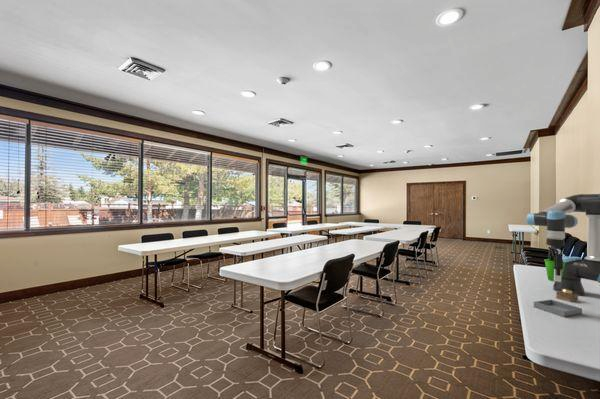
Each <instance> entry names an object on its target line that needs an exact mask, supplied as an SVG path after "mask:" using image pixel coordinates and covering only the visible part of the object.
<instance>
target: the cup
mask: <svg viewBox="0 0 600 399" xmlns="http://www.w3.org/2000/svg"><path fill="white" fill-rule="evenodd" d="M543 261H544V265H545V269H546V276H547V280H548V281H549V282H554V283H555V282H559V281H554V269H553V268H554V267H555V262H554V261H551V260H549V259H548V258H547V259H544V260H543ZM565 263H566V262H564V261H563V269H562V270H561V278H562V274H563V270H564V266H565Z"/></svg>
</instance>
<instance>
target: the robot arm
mask: <svg viewBox="0 0 600 399" xmlns="http://www.w3.org/2000/svg"><path fill="white" fill-rule="evenodd" d="M571 213H585V216H586V217H587V218H588V235H587V236H588V238H587V239H588V240H587V241H588V242H587V243H588V244H587V256H585V257H584V258H583V259H584V260H583V259H582V257H579V256H563V250H561V248H560V247H565V246H566V244H565V239H566V229H570V228H574V227H576V226H577V225H578V222H579V220H578V218H577V217H576V216H575V215H573V214H571ZM525 221H526V223H527V224H528V225H530V226H534V227H537V226H538V227H546V231H545V234H546V240H545V242H546V246H548V253H547V259H549V260H551V261H554V262H555V267H554V268H553V269H554V281H559V282H554V284H553V288H552V289H553V291H556V292H557V291H562V289H569V290H572V293H575V294H578V296H585V295H586V294H585V292H586V291H585V288H584V285H583V284H582V280H587V281H594V282H598V283H600V193H592V194H591V193H590V194H589V193H582V194H574V195H570V196H567V197H564V198H562V199H559V201H558V202H556V203H555V204H554V205H551V206H550V207H547V208H546V209H543V210H541V211H539V212H531V213H527V215H526V220H525ZM563 261H564V262H566V263H565V266H564V270H563V274H562V278H561V270H562V269H563Z"/></svg>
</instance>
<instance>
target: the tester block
mask: <svg viewBox="0 0 600 399" xmlns="http://www.w3.org/2000/svg"><path fill="white" fill-rule="evenodd" d="M555 295H556V297H555V298H556V299H559V300H562V301H565V302H569V303H572V302H573V303H574V302H578V301H579V295H578V294H575V293H572V294H570V295H569V294H565V293H562V291H556V294H555Z"/></svg>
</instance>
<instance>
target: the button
mask: <svg viewBox="0 0 600 399" xmlns="http://www.w3.org/2000/svg"><path fill="white" fill-rule="evenodd" d="M562 293H565V294H569V295H570V294H572V290H569V289H562Z"/></svg>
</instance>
